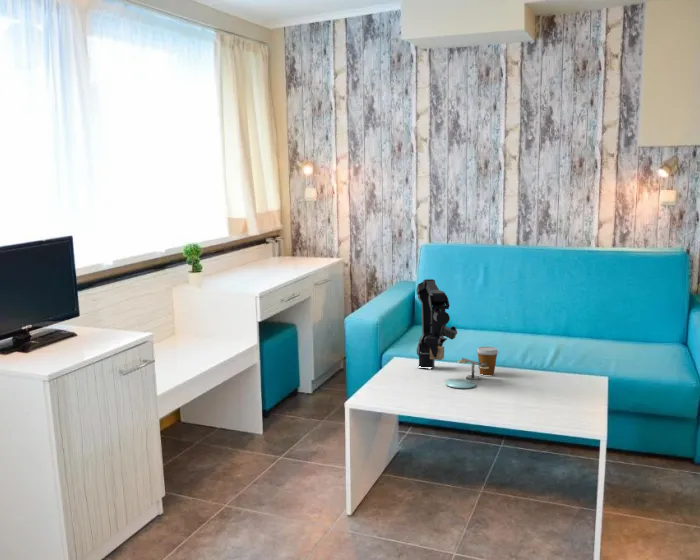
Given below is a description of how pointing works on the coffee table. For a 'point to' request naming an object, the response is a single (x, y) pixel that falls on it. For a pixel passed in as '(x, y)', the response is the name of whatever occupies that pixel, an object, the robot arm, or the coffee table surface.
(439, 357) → the tan block
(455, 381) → the teal dish
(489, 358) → the disposable coffee cup
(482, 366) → the balance
